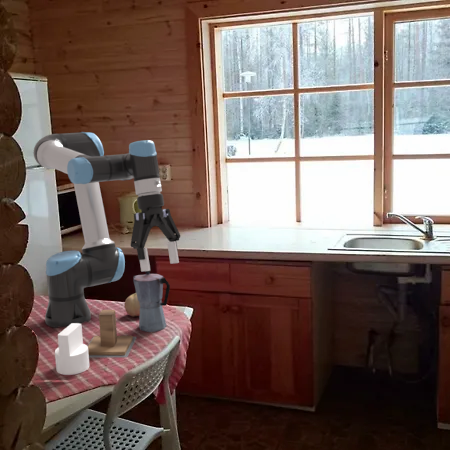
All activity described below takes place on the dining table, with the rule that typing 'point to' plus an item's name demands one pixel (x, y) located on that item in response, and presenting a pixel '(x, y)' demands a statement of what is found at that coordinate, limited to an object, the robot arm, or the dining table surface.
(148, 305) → the moka pot
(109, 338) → the walnut lid
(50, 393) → the dining table surface
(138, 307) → the fruit
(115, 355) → the rubber mat
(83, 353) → the cylinder with rectangular tab
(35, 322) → the dining table surface
